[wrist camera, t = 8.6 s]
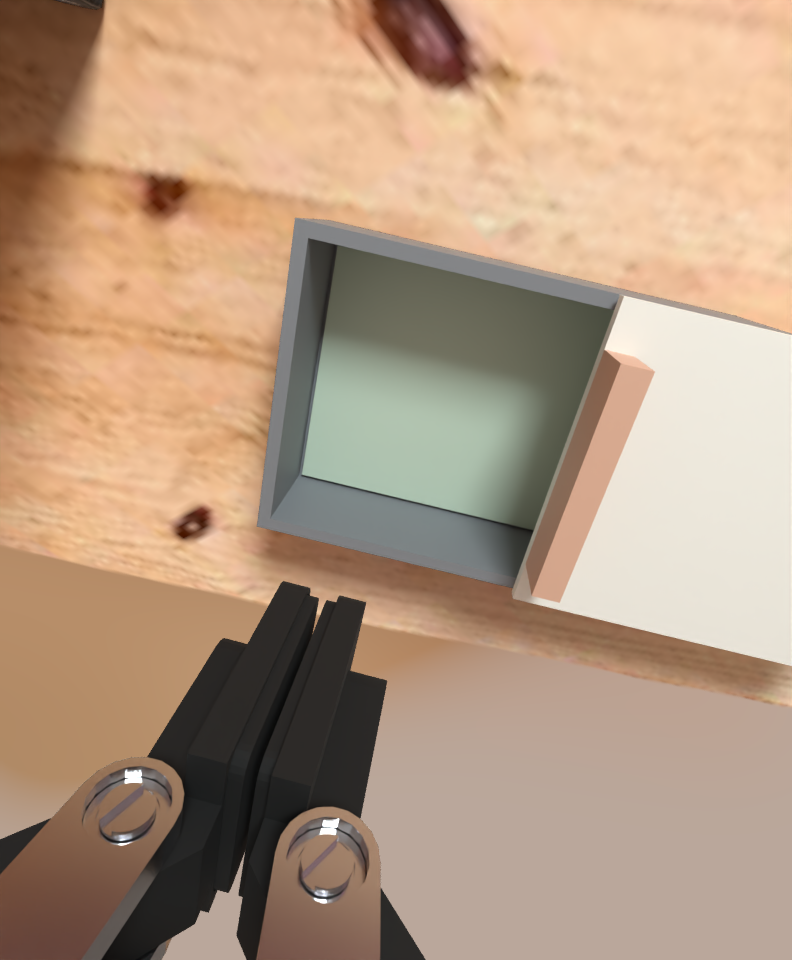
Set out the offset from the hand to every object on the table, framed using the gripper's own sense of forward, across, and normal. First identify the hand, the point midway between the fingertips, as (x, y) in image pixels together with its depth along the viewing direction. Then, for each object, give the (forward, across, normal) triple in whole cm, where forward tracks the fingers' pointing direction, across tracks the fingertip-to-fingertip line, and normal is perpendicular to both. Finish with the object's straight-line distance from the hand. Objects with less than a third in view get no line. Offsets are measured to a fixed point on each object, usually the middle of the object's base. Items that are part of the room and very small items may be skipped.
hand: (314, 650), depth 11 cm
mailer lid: (+15, -17, 0) cm, 23 cm away
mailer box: (+21, -4, 0) cm, 21 cm away
